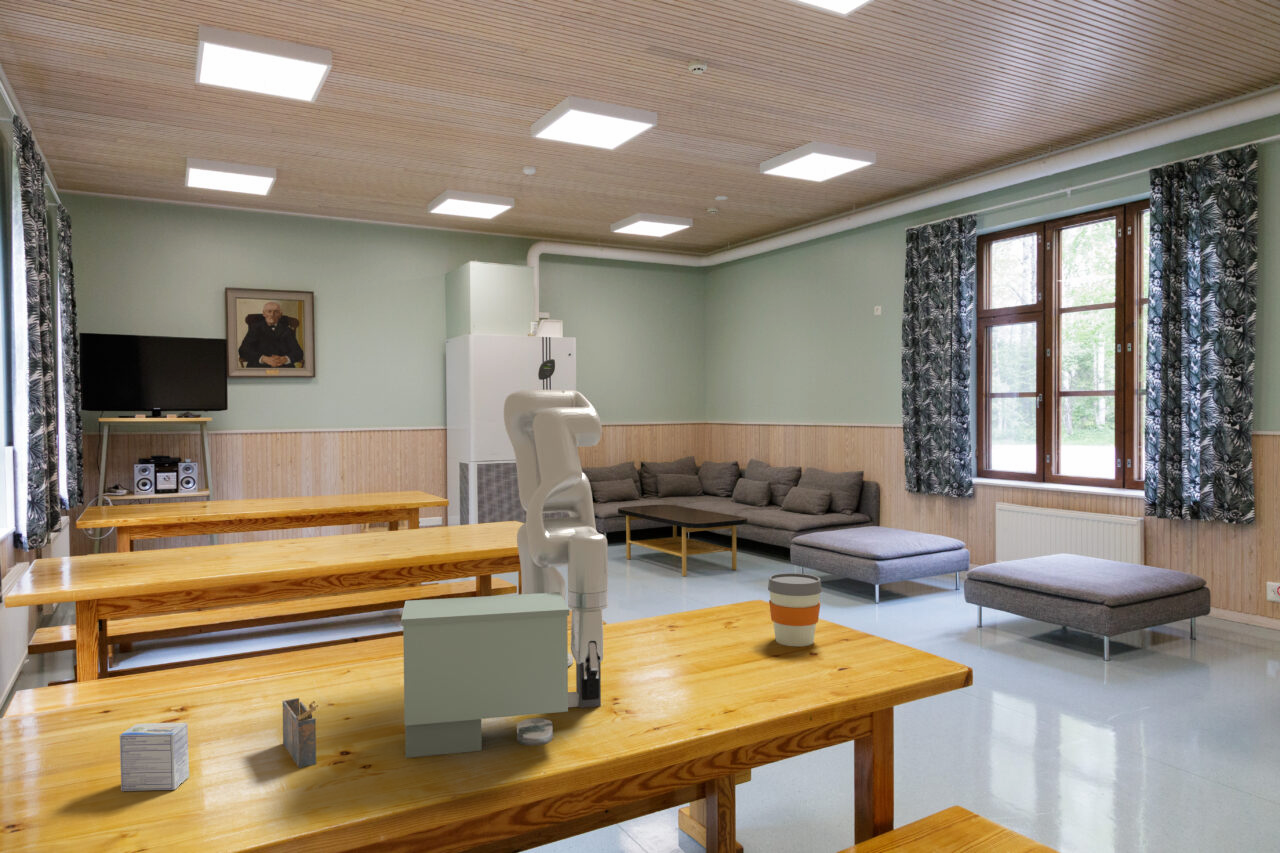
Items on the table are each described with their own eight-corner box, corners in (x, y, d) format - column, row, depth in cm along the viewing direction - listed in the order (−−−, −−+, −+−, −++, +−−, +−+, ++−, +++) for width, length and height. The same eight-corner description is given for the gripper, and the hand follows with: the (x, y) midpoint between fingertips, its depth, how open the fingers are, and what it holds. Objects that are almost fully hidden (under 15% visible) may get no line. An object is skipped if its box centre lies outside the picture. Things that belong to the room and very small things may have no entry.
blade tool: (502, 706, 155) (501, 659, 154) (597, 698, 159) (596, 652, 158) (503, 714, 151) (503, 665, 151) (600, 706, 155) (600, 658, 155)
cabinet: (407, 733, 143) (405, 600, 142) (560, 719, 148) (559, 592, 148) (402, 764, 130) (401, 619, 130) (570, 747, 136) (569, 609, 136)
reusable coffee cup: (780, 650, 189) (781, 585, 189) (759, 635, 201) (759, 574, 201) (830, 646, 192) (831, 582, 192) (807, 631, 204) (807, 571, 204)
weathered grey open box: (319, 765, 131) (318, 705, 131) (298, 770, 129) (298, 709, 129) (302, 741, 140) (301, 685, 140) (283, 746, 138) (282, 688, 138)
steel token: (515, 734, 142) (515, 719, 142) (550, 731, 144) (550, 716, 144) (518, 748, 137) (518, 733, 136) (554, 744, 138) (554, 730, 138)
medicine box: (190, 777, 126) (189, 721, 126) (174, 791, 121) (173, 733, 121) (137, 778, 126) (136, 722, 125) (119, 792, 121) (118, 734, 121)
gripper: (562, 590, 163) (562, 681, 164) (574, 610, 147) (575, 712, 147) (599, 588, 165) (600, 679, 165) (616, 608, 148) (616, 709, 149)
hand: (588, 693), depth 156 cm, fingers closed on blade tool, 4 cm apart
